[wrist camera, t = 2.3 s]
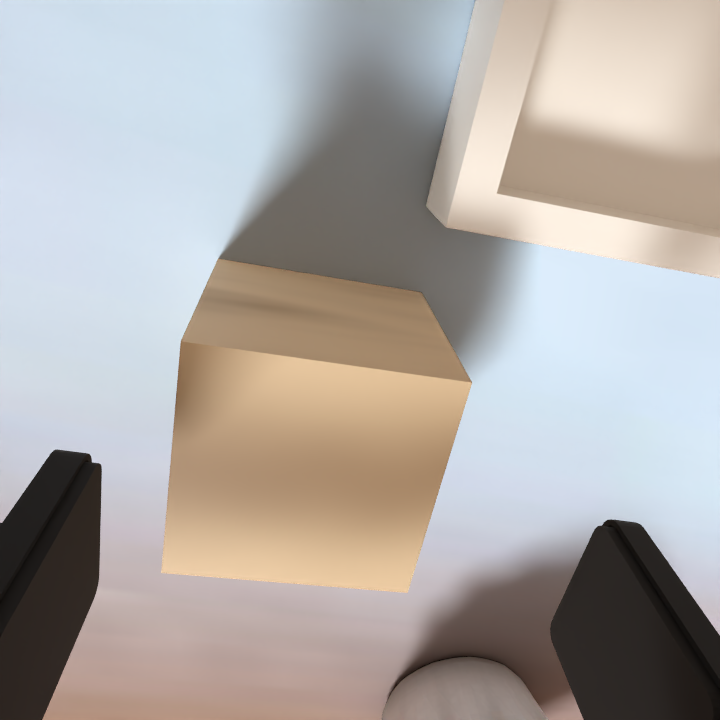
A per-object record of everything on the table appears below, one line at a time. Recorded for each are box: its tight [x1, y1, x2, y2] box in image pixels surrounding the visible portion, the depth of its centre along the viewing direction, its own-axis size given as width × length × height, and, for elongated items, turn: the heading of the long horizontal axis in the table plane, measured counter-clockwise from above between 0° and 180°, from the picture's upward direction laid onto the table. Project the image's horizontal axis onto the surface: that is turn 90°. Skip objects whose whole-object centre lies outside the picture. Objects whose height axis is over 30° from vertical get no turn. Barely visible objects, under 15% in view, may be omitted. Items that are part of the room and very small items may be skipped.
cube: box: [161, 259, 472, 593], centre depth 16 cm, size 6×6×6 cm
